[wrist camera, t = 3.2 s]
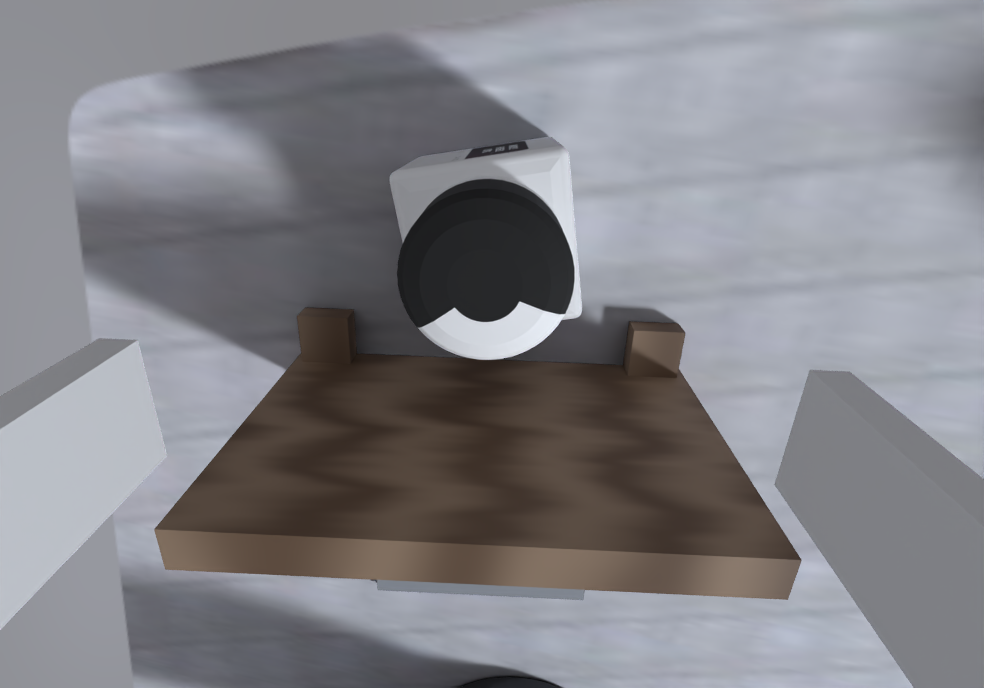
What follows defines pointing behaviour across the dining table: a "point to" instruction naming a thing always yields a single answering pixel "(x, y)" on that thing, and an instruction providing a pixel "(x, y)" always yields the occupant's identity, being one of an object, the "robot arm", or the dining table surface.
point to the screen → (483, 476)
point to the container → (488, 246)
